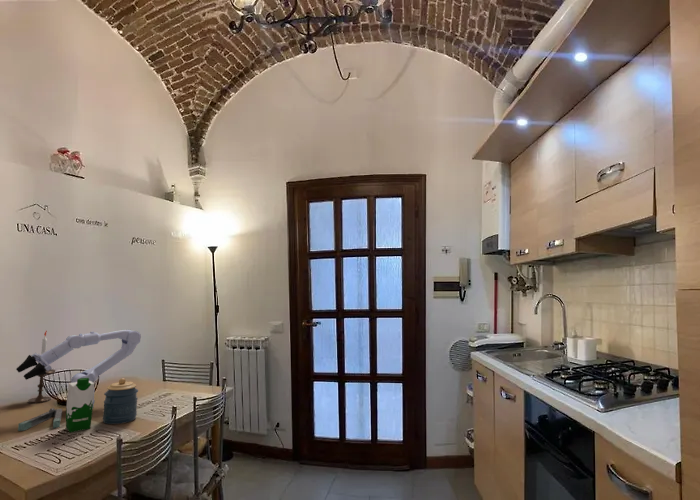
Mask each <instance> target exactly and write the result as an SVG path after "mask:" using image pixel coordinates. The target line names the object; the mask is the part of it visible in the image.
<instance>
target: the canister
mask: <svg viewBox="0 0 700 500" xmlns="http://www.w3.org/2000/svg"><path fill="white" fill-rule="evenodd" d="M136 387H137V384H136V383H134V382H133V381H127V380H126V378H124V377H121V378H120V379H119V380H118V382H117V381H116V382H113V383H111V384H110V385H109V386H107V387H106V389H107V391H105V392H104V396H105V397H104V398H105V399H104V400H103V414H102V422H103V423H104V424H107V425H120V424H126V423H129V422H132V421H134V420H135V419H136V418H137V415H138V411H137V409H138V408H137V407H138V396H137V394H138V392H139V389H137V388H136Z"/></svg>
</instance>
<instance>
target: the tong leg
mask: <svg viewBox="0 0 700 500" xmlns="http://www.w3.org/2000/svg"><path fill="white" fill-rule="evenodd" d="M51 415H52V412H49V411H46V412H44V413H42V414H39V415H37V416H33V417H32V418H30V419H28V420H24V421H22V422H20V423H18V425H17V432H18V431H20V432H21V431H22V432H24V431H26V430H28V429H31V428H32V427H34V426H38V425H39V424H41V423H43V422H46V421H47V420H50V419H52V417H51Z"/></svg>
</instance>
